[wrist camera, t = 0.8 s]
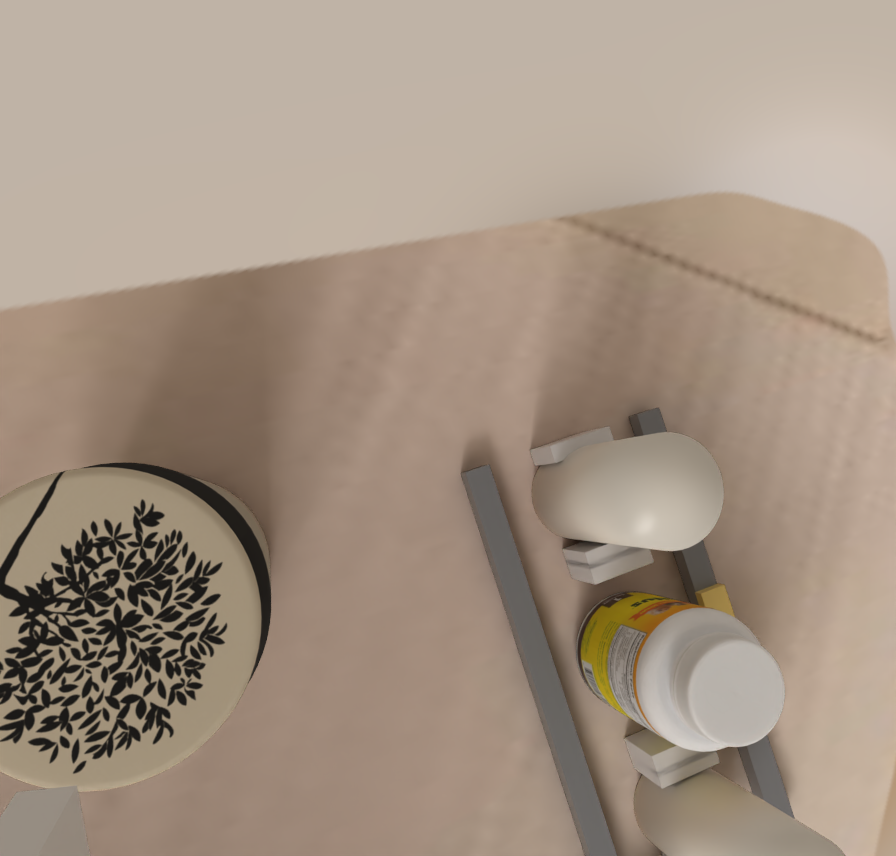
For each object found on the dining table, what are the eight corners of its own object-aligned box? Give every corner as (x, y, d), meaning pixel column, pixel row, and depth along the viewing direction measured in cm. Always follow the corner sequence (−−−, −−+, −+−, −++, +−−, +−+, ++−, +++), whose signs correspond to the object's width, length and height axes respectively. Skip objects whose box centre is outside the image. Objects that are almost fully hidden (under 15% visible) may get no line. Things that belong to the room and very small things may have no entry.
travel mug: (306, 545, 39) (337, 581, 21) (196, 696, 37) (131, 873, 20) (158, 441, 38) (61, 389, 20) (39, 593, 36) (-177, 680, 19)
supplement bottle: (691, 607, 42) (822, 641, 32) (661, 719, 41) (785, 789, 31) (589, 574, 41) (691, 597, 31) (556, 687, 40) (650, 748, 30)
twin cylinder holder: (784, 812, 42) (938, 906, 32) (599, 900, 40) (706, 1028, 30) (650, 409, 43) (764, 381, 33) (460, 473, 40) (521, 464, 31)
